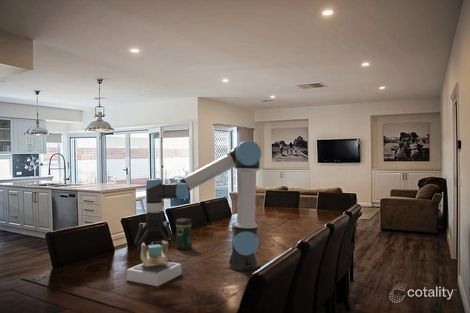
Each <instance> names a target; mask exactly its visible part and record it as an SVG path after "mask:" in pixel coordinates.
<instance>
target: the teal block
mask: <svg viewBox="0 0 470 313" xmlns="http://www.w3.org/2000/svg"><path fill="white" fill-rule="evenodd" d="M147 252H148V255H149V256H160V255H162V247H161V246H160V244H156V245H152V244H149V245H148V244H147Z"/></svg>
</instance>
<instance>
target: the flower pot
mask: <svg viewBox="0 0 470 313" xmlns="http://www.w3.org/2000/svg"><path fill="white" fill-rule="evenodd" d="M162 241H163V240H161V241H152V242H151V245H156V244H160V246H161V247H162ZM164 241H165V242H167V240H164Z"/></svg>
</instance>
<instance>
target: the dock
mask: <svg viewBox="0 0 470 313" xmlns="http://www.w3.org/2000/svg"><path fill="white" fill-rule="evenodd" d="M182 273H183V272H182V263H178V262H177V263H176V262H170V261H169V264H163V265H154V266H146V267H145V266H144V264H143V262H142V263H140V264H137V265H134V266H133V267H130V268H128V269H126V281H130V282H134V283H140V284H144V285H145V284H146V285H150V286H155V287H159V286H161V285H163V284H165V283H167V282H169V281H171V280H173V279H175V278H177V277H179V276H182Z"/></svg>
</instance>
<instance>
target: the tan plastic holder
mask: <svg viewBox="0 0 470 313" xmlns="http://www.w3.org/2000/svg"><path fill="white" fill-rule="evenodd" d="M161 241H162V255H160V256H149V255H148V246H147V245H146V244H145V242H143V243H142V245H143V260H141V259H140V260H141V262H142V263H143V264H144V266H145V267H146V266H154V265H163V264H169V262H170V261H169V260H170V256H169V249H168V244H167V243H166V242H165V241H166V240H161Z"/></svg>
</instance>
